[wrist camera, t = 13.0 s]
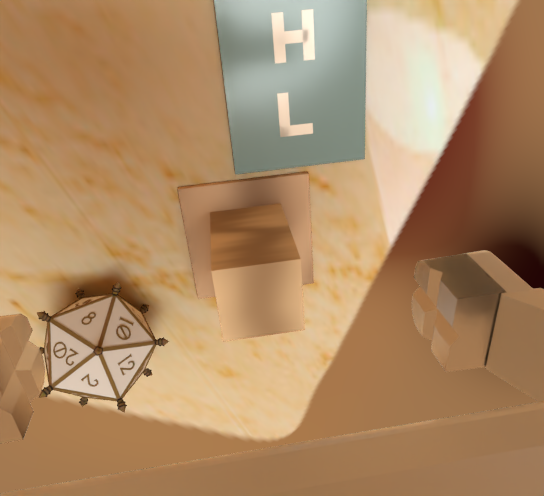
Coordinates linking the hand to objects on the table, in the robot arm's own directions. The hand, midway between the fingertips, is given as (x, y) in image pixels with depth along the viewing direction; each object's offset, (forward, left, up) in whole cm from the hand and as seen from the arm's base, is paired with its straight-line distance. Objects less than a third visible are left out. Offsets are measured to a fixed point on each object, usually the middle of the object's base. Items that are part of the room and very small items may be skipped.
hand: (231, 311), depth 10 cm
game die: (-10, -15, -23) cm, 29 cm away
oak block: (+1, -10, -23) cm, 25 cm away
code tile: (+5, +1, -23) cm, 23 cm away
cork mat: (+1, -10, -23) cm, 25 cm away
